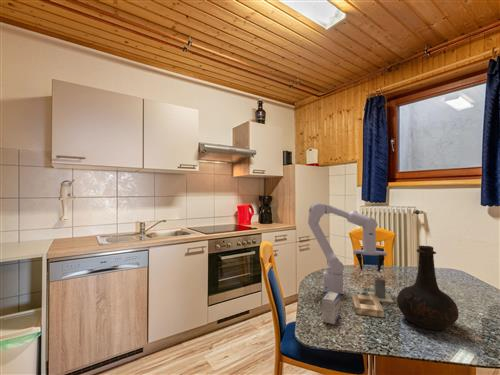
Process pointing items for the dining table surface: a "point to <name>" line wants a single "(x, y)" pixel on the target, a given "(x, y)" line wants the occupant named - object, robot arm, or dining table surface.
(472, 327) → the dining table surface
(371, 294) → the pad
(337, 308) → the medicine box
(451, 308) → the glass bottle
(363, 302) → the rail plate
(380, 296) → the square peg
